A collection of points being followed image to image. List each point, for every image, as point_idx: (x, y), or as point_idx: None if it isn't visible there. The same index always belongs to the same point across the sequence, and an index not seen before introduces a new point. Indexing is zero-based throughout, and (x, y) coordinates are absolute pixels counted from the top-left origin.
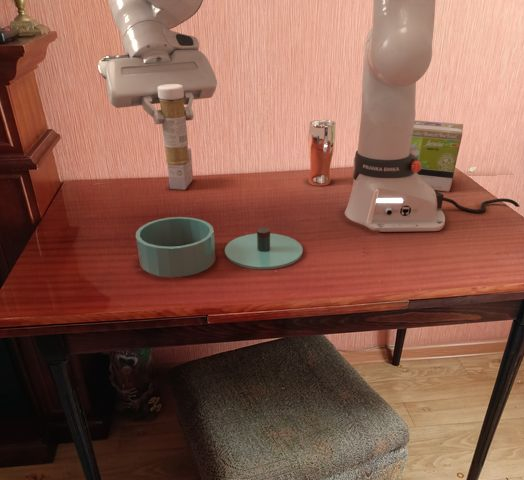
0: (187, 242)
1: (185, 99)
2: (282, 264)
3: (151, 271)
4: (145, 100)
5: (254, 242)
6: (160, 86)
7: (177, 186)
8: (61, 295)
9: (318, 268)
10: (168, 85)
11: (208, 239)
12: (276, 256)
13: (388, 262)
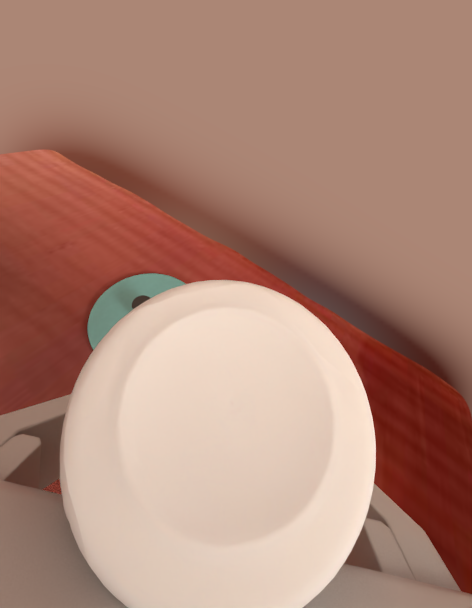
0: None
1: (36, 476)
2: (167, 275)
3: None
4: (426, 546)
5: None
6: (347, 455)
7: None
8: (409, 405)
9: (136, 258)
10: (234, 442)
11: None
12: (155, 292)
13: (73, 221)
